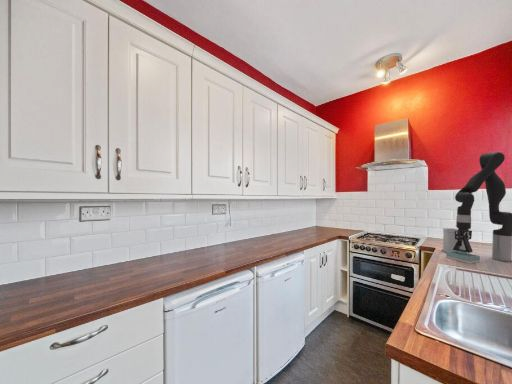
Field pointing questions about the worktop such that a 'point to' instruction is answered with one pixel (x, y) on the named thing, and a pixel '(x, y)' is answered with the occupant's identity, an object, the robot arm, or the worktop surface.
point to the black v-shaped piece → (466, 244)
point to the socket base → (463, 256)
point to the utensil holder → (450, 240)
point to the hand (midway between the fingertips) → (462, 245)
